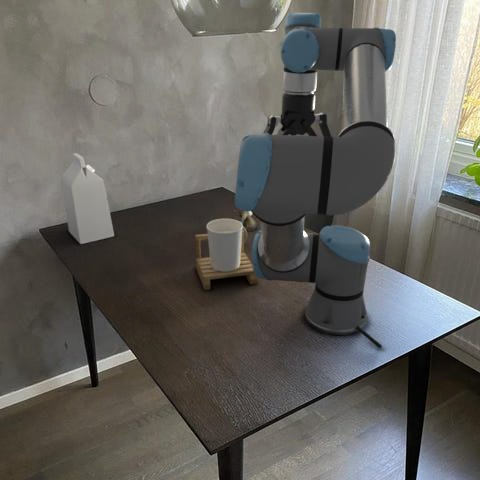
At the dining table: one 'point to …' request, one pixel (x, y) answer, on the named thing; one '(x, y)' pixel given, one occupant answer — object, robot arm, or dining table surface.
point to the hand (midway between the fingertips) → (293, 183)
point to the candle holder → (224, 244)
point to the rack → (209, 273)
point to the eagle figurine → (247, 219)
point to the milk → (86, 203)
